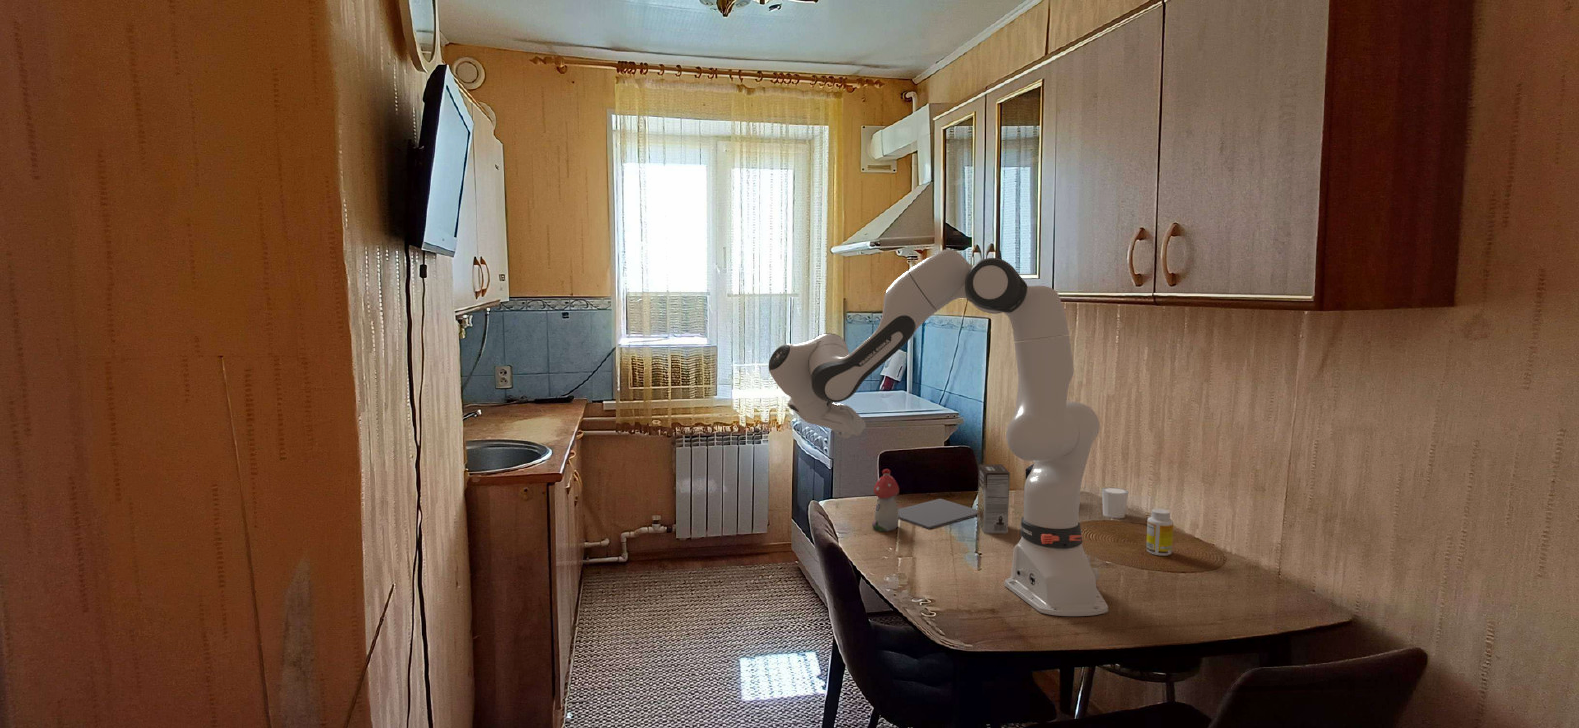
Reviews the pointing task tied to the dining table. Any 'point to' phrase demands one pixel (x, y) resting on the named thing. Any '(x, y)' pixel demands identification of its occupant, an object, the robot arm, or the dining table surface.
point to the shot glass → (1114, 502)
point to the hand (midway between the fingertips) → (846, 435)
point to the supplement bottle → (1159, 533)
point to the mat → (935, 513)
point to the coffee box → (993, 498)
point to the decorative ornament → (886, 503)
